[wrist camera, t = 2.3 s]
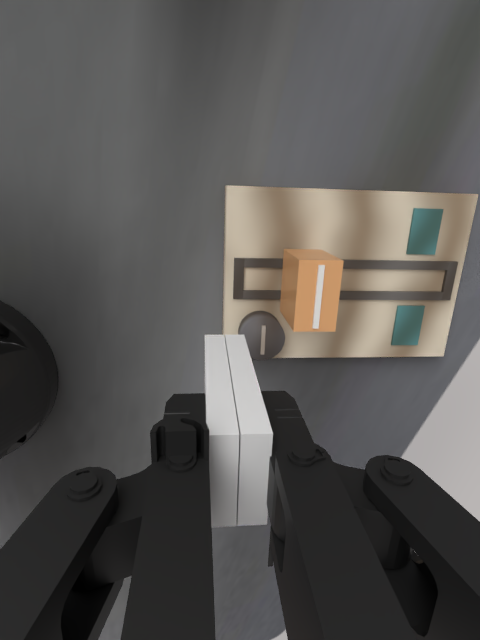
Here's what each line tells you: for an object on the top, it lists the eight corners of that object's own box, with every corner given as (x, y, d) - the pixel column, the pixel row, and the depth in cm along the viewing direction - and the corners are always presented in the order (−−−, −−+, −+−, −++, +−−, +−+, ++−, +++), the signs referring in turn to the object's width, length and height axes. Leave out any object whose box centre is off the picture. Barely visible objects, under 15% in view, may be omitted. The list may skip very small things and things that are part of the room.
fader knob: (279, 310, 32) (294, 332, 27) (283, 248, 30) (299, 260, 25) (315, 310, 32) (336, 332, 27) (321, 249, 30) (344, 261, 25)
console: (221, 349, 35) (224, 369, 31) (225, 185, 31) (228, 185, 27) (431, 347, 37) (458, 366, 33) (462, 193, 33) (498, 194, 29)
